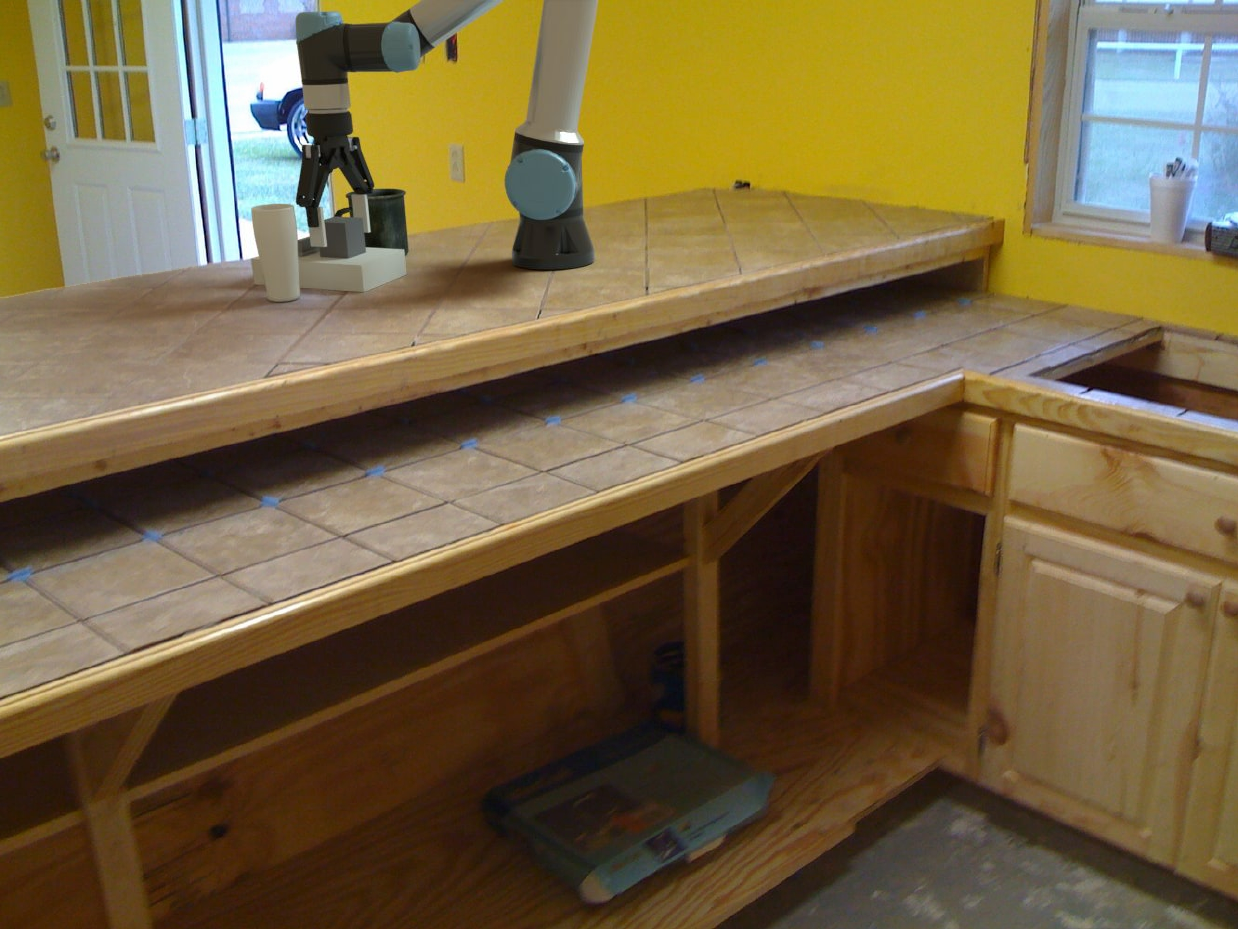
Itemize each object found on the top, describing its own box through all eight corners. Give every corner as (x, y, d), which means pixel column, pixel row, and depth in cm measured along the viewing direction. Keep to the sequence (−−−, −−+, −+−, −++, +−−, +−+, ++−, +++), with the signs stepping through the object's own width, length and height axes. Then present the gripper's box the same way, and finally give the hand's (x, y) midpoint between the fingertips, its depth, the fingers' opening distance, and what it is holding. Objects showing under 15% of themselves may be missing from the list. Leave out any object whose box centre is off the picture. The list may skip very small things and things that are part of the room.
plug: (368, 275, 209) (362, 217, 205) (350, 281, 204) (344, 223, 200) (341, 273, 211) (334, 216, 207) (323, 280, 206) (316, 221, 202)
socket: (406, 274, 211) (404, 249, 209) (363, 292, 198) (361, 265, 197) (301, 268, 218) (298, 243, 216) (254, 284, 206) (250, 258, 204)
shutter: (324, 249, 210) (322, 234, 209) (303, 256, 205) (301, 241, 204) (293, 247, 213) (291, 232, 212) (271, 254, 207) (269, 239, 206)
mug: (422, 256, 226) (416, 192, 222) (353, 267, 218) (346, 201, 213) (392, 248, 234) (387, 186, 230) (325, 259, 225) (318, 195, 221)
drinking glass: (283, 305, 191) (271, 211, 185) (253, 301, 194) (241, 208, 189) (314, 297, 196) (303, 205, 190) (285, 292, 199) (273, 202, 194)
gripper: (349, 104, 209) (361, 225, 217) (262, 117, 187) (279, 251, 195) (386, 104, 207) (397, 227, 214) (303, 117, 185) (318, 253, 193)
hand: (341, 239), depth 205 cm, fingers open, 13 cm apart
